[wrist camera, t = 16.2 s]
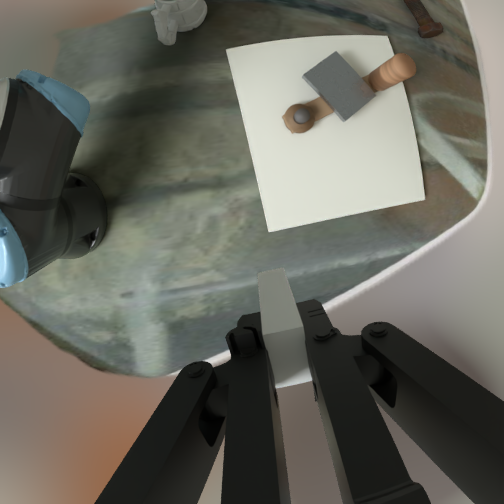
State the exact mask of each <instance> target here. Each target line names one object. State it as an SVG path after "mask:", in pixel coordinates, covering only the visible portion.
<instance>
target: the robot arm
mask: <svg viewBox="0 0 504 504" xmlns="http://www.w3.org/2000/svg"><path fill="white" fill-rule="evenodd" d="M89 112H90V105H89V102H88V100H87V99H86V98H85V97H84V96H83V95H82V94H80V93H79V92H77V91H76V90H74V89H72V88H70V87H69V86H67V85H65V84H63V83H61V82H59V81H57V80H54V79H52V78H50V77H46V76H44V75H41V74H40V73H37V72H34V71H31V70H22V71H21V72H20V73H19V74H18V75H17V76H16V80H15V79H11V78H6V77H4V78H2V79H0V287H1V288H5V287H9V286H11V285H13V284H15V283H17V282H21V281H24V280H25V279H26V278H27V277H29V276H31V275H32V274H34V273H35V272H37V271H39V270H40V269H42V268H43V267H45V266H47V265H48V264H50V263H52V262H53V261H55V260H56V259H75V258H79V257H82V256H84V255H86V254H88V253H89V252H91V251H92V250H94V249H95V248H96V247H97V246H98V244H99V243H100V242H101V240H102V238H103V236H104V233H105V229H106V224H107V210H106V204H105V201H104V198H103V195H102V193H101V191H100V190H99V188H98V187H97V185H96V184H95V183H94V182H93V181H92V180H91V179H90V178H88V177H86V176H85V175H82V174H79V173H68V172H69V169H70V166H71V163H72V160H73V157H74V154H75V151H76V148H77V145H78V143H79V140H80V137H82V136H83V129H84V126H85V123H86V121H87V118H88V115H89ZM257 276H258V288H259V300H260V312H257V313H252V314H247V315H242V316H241V318H240V319H239V320H238V323H237V327H236V328H234V329H232V330H231V331H230V332H228V333H227V335H226V337H225V338H226V341H227V344H228V347H229V350H230V353H231V359H230V360H229V361H228V362H226V363H224V364H222V365H219V366H216V367H214V368H213V367H212V365H211V364H210V363H208V362H205V361H199V362H193V363H191V364H189V365H187V366H185V367H184V368H183V369H182V370H181V371H180V373H179V374H178V376H177V377H176V379H175V380H174V382H173V384H172V385H171V387H170V388H169V390H168V391H167V393H166V394H165V396H164V398H163V399H162V401H161V402H160V404H159V405H158V407H157V408H156V410H155V411H154V413H153V415H152V416H151V418H150V419H149V421H148V422H147V424H146V425H145V427H144V428H143V430H142V431H141V433H140V435H139V436H138V438H137V439H136V441H135V442H134V444H133V445H132V447H131V448H130V450H129V451H128V453H127V454H126V456H125V458H124V459H123V461H122V462H121V464H120V465H119V467H118V468H117V470H116V471H115V473H114V474H113V476H112V478H111V479H110V481H109V482H108V484H107V485H106V487H105V488H104V490H103V491H102V493H101V494H100V496H99V497H98V499H97V500H96V502H95V503H94V504H197V503H198V500H199V498H200V496H201V493H202V491H203V489H204V486H205V484H206V481H207V479H208V476H209V474H210V471H211V469H212V466H213V464H214V461H215V459H216V457H217V454H218V451H219V449H220V446H221V444H222V441H223V439H224V436H225V446H224V462H223V477H222V494H221V504H291V500H290V491H289V483H288V474H287V467H286V459H285V450H284V443H283V434H282V426H281V419H280V410H279V402H278V396H277V392H276V388H280V387H285V386H290V385H295V384H299V383H304V382H308V381H313V388H314V394H315V401H317V403H318V407H319V410H320V415H321V418H322V422H323V426H324V430H325V434H326V437H327V441H328V445H329V449H330V453H331V457H332V460H333V465H334V468H335V473H336V477H337V481H338V485H339V489H340V493H341V497H342V502H343V504H431V502H430V500H429V498H428V496H427V494H426V492H425V490H424V488H423V487H422V486H421V485H420V484H419V483H416V482H413V481H412V480H411V478H410V476H409V474H408V472H407V469H406V467H405V465H404V463H403V460H402V458H401V456H400V454H399V451H398V449H397V447H396V445H395V443H394V441H393V438H392V436H391V434H390V432H389V430H388V428H387V426H386V423H385V421H384V419H383V417H382V415H381V413H380V411H379V409H378V406H377V404H376V402H377V403H378V404H379V405H380V406H381V407H382V408H383V409H384V411H385V412H386V413H387V414H388V415H389V416H390V417H391V418H392V419H393V420H394V421H395V422H396V423H397V424H398V425H399V426H400V427H401V428H402V429H403V430H404V431H405V433H406V434H408V436H409V437H410V438H411V439H412V440H413V441H414V442H415V443H416V444H417V445H418V446H419V447H420V448H421V449H422V450H423V451H424V452H425V453H426V454H427V455H428V457H430V458H431V460H432V461H433V462H434V463H435V464H436V465H437V466H438V467H439V468H440V469H441V470H442V471H443V472H444V473H445V474H446V475H447V476H448V477H449V478H450V479H451V480H452V481H453V482H454V483H455V484H456V485H457V486H458V487H459V488H460V489H461V490H462V491H463V492H464V493H465V494H466V495H467V497H468V498H469V499H471V500H472V502H473V503H475V504H504V401H502V400H501V399H500V398H498V397H497V396H495V395H494V394H492V393H491V392H490V391H488V390H487V389H485V388H484V387H482V386H481V385H480V384H478V383H477V382H475V381H474V380H472V379H471V378H470V377H468V376H467V375H465V374H464V373H462V372H461V371H459V370H458V369H457V368H455V367H454V366H452V365H451V364H449V363H448V362H447V361H445V360H444V359H442V358H441V357H439V356H438V355H436V354H435V353H433V352H432V351H430V350H429V349H428V348H426V347H424V346H423V345H422V344H420V343H419V342H417V341H416V340H414V339H413V338H411V337H410V336H408V335H407V334H405V333H404V332H403V331H401V330H399V329H398V328H397V327H395V326H393V325H392V324H390V323H387V322H374V323H371V324H368V325H367V326H365V327H364V328H363V330H362V331H361V335H353V336H348V335H342V334H341V333H340V331H339V330H338V329H337V328H334V327H333V326H332V324H331V322H330V320H329V318H328V316H327V314H326V312H325V310H324V308H323V306H322V304H321V303H320V302H318V301H317V300H315V299H312V300H308V301H304V302H299V303H295V300H294V297H293V294H292V291H291V288H290V285H289V282H288V279H287V277H286V274H285V271H284V268H278V269H274V270H269V271H265V272H260V273H257ZM275 386H276V387H275ZM375 401H376V402H375Z"/></svg>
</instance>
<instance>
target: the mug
mask: <svg viewBox="0 0 504 504" xmlns="http://www.w3.org/2000/svg"><path fill="white" fill-rule="evenodd" d="M155 7H156V8H157V9H155V10H153V11H151V14H152V15H153V17H154V20H155V21H154V23H155V27H156V32H157V33H158V36H157V37H158V40H159V41H161V42H162V43H163V44H165V45H172V44H175V41H176V34H177V31H179V32H185V31H188V30H192V29H193V28H197V27H198V26H199V25H201V24H202V22H203V21H204V18H205V16H206V14H207V5H206V3H205V1H204V0H155ZM167 27H169V28H168V30H167Z"/></svg>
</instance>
